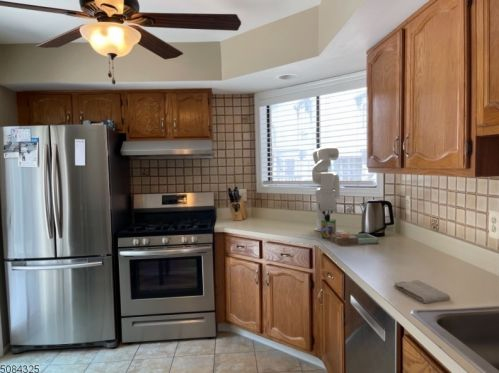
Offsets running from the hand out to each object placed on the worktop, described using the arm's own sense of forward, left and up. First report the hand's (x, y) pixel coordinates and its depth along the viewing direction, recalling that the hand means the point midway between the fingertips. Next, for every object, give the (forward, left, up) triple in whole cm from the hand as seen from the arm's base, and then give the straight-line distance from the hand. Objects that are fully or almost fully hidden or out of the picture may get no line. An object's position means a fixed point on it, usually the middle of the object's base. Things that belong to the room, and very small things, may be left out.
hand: (327, 221), depth 217 cm
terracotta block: (+6, +9, -9) cm, 14 cm away
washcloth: (+88, +4, -14) cm, 89 cm away
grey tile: (-1, +9, -9) cm, 13 cm away
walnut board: (+3, +10, -13) cm, 17 cm away
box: (+3, +22, -13) cm, 26 cm away
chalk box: (-15, +7, -14) cm, 21 cm away
